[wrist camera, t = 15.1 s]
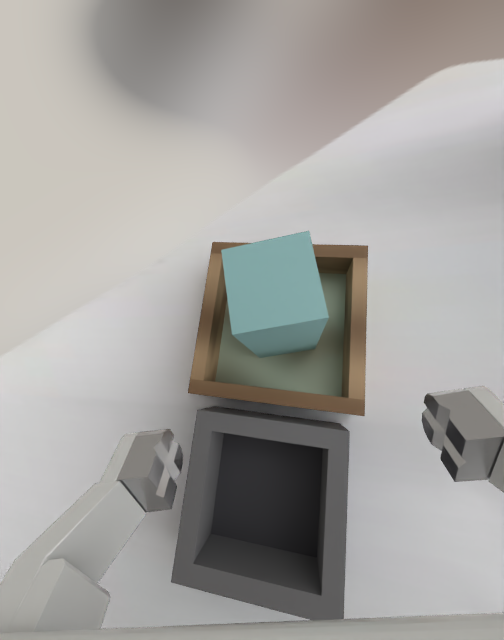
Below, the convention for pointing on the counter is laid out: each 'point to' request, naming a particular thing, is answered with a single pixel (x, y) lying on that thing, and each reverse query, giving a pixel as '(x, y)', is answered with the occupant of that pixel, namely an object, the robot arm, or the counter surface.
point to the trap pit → (266, 512)
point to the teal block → (275, 295)
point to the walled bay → (299, 367)
